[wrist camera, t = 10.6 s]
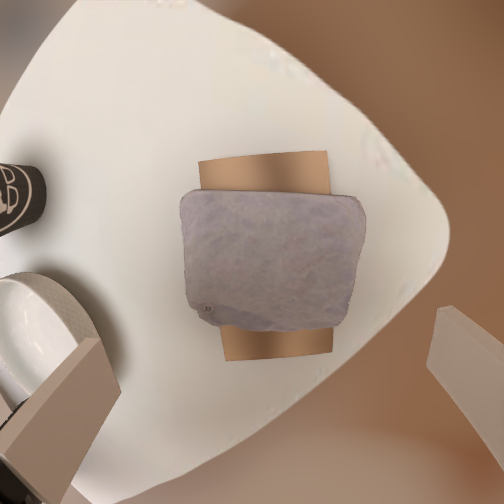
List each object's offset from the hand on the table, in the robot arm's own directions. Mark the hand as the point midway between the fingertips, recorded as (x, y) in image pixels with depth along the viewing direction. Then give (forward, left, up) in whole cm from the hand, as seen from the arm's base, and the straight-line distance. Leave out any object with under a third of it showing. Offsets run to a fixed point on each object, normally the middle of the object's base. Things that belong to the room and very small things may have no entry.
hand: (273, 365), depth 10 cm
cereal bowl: (-25, -7, -16) cm, 30 cm away
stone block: (0, +1, -12) cm, 12 cm away
